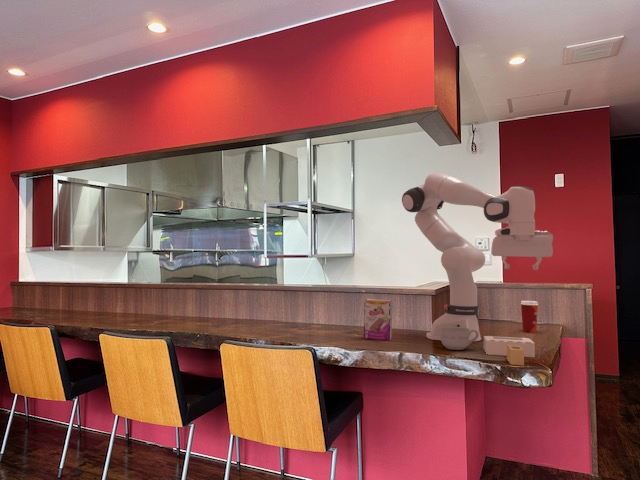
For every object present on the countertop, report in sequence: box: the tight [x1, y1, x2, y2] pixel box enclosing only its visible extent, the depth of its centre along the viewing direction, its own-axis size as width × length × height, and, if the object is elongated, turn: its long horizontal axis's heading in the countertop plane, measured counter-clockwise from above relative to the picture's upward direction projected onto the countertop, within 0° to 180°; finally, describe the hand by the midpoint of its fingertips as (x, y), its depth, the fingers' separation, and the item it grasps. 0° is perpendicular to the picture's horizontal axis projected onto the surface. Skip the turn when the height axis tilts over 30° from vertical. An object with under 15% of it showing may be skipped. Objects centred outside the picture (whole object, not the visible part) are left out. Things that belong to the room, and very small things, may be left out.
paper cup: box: [520, 300, 539, 334], centre depth 208 cm, size 8×8×14 cm
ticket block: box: [483, 335, 536, 358], centre depth 164 cm, size 16×9×5 cm, turn 76°
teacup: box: [440, 327, 479, 351], centre depth 171 cm, size 14×11×8 cm
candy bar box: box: [363, 298, 393, 342], centre depth 188 cm, size 11×5×16 cm, turn 71°
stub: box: [506, 344, 525, 367], centre depth 151 cm, size 4×8×5 cm, turn 166°
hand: (521, 269), depth 161 cm, fingers open, 8 cm apart
